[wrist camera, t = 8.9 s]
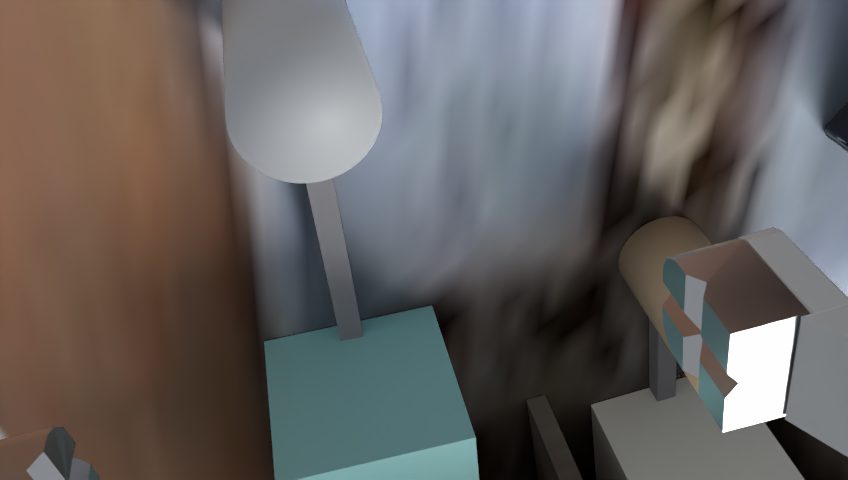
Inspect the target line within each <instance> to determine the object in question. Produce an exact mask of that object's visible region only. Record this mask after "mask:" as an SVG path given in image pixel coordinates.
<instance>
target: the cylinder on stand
mask: <svg viewBox="0 0 848 480" xmlns="http://www.w3.org/2000/svg"><path fill="white" fill-rule="evenodd" d="M711 245H712V244H711V242H710V241H709V240H708V239H707V238H706V236H705V235H704V234H703V233H702V231H701V230H700V229H699V228H698V227H697V225H696V224H695V223H694V222H692V221H691V220H689V219H687V218H684V217H679V216H669V217H663V218H659V219H656V220H654V221H651V222H649V223H647V224H645V225H644V226H642V227H641V228H639V229H638V230H637V231H636V232H634V233H633V234H632V235H631V236H630V237H629V239H628V240H627V241H626V243H625V244H624V246H623V248H622V250H621V252H620V255H619V260H618V266H619V270H620V273H621V275H622V276H623V278H624V280H625V281H626V283H627V284H628V286H629V287H630V289H631V290H632V292H633V294H634V295H635V297H636V298H637V300H638V301H639V303H640V304H641V306H642V308H643V309H644V311H645V312H646V314H647V315H648V317H649V388H646V389H643V390H639V391H636V392H633V393H629V394H626V395H622V396H619V397H616V398H612V399H609V400H605V401H602V402H598V403H595V404H592V405H591V414H592V429H593V443H594V458H595V472H596V480H805V479H804V478H803V476H802V475H801V474H800V472H799V471H798V469H797V468H796V466H795V465H794V464H793V462H792V461H791V459H790V458H789V456H788V455H787V454H786V452H785V451H784V449H783V448H782V447H781V445H780V444H779V442H778V441H777V439H776V438H775V437H774V435H773V434H772V432H771V431H770V429H769V428H768V427H767V425H766V424H765V422H761V423H757V424H753V425H749V426H745V427H741V428H737V429H734V430H730V431H726V432H722V430H721V429H720V427H719V426H718V424H717V423H716V421H715V420H714V418H713V417H712V415H711V414H710V412H709V411H708V409H707V407H706V406H705V404H704V403H703V401H702V400H701V398H700V397H699V395H698V387H699V378H698V377H695V376H693V375H691V374H689V373H687V372H685V371H683V372H684V373H685V375H686V376H687V377H684V378H680V379H677V380H676V369H677V360H676V359H675V357H674V355H673V353H672V351H671V349H670V346H669V344H668V342H667V338H666V334H665V330H664V326H663V311H662V305H663V304H664V302H665V301H666V300H667V298H668V297H669V295H670V294H671V293H670V291H669V290H668V288H667V287H666V285H665V284H664V282H663V265H664V263H665V260H666V258H669V257H672V256H676V255H679V254H683V253H686V252H690V251H693V250H697V249H700V248H704V247H707V246H711Z"/></svg>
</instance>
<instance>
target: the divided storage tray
mask: <svg viewBox="0 0 848 480" xmlns="http://www.w3.org/2000/svg"><path fill="white" fill-rule="evenodd" d="M526 401H527V407H528V414H529V421H530V427H531V434H532V441H533V448H534V454H535V461H536V468H537V475H538V480H583V479H582V477H581V475H580V473H579V470H578V468H577V466H576V463H575V461H574V459H573V457H572V454H571V452H570V450H569V448H568V445H567V443H566V441H565V439H564V436H563V434H562V432H561V429H560V427H559V425H558V423H557V420H556V418H555V416H554V414H553V411H552V409H551V407H550V405H549V402H548V400H547V398H546V395H542V396H539V397H535V398H532V399H528V400H526ZM764 422H765V424H766V425H767V427H768V428H769V429H770V431H771V432H772V434H773V435H774V437H775V438H776V439H777V441H778V442H779V444H780V445H781V447H782V448H783V449H784V451H785V452H786V454H787V455H788V456H789V458H790V459H791V461H792V462H793V464H794V465H795V466H796V468H797V469H798V471H799V472H800V474H801V475H802V476H803V478H804V479H805V480H848V457H847V456H845V455H843V454H842V453H840V452H838V451H837V450H835V449H833V448H832V447H830V446H828V445H827V444H825V443H823V442H822V441H820V440H818V439H817V438H815V437H813V436H812V435H810V434H808V433H807V432H805V431H803V430H802V429H800V428H798V427H797V426H795V425H793V424H792V423H790V422H788V421H787V420H785V416H784V417H780V418H776V419H772V420H768V421H764ZM274 480H275V475H274Z"/></svg>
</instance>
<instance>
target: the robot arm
mask: <svg viewBox="0 0 848 480" xmlns="http://www.w3.org/2000/svg"><path fill="white" fill-rule="evenodd" d="M663 282H664V284H665V285H666V287H667V288H668V290H669V291H670V293H671V294H670V295H669V297H668V298H667V300H666V301H665V302H664V304H663V305H662V311H663V326H664V330H665V334H666V338H667V342H668V344H669V346H670V349H671V351H672V353H673V355H674V357H675V359H676V360H677V362H678V364H679V365H680V367H681V369H682V370H683V371H685V372H687V373H689V374H691V375H693V376H695V377H698V378H699V387H698V395H699V397H700V398H701V400H702V401H703V403H704V404H705V406H706V407H707V409H708V411H709V412H710V414H711V415H712V417H713V418H714V420H715V421H716V423H717V424H718V426H719V427H720V429H721V430H722V432H726V431H730V430H734V429H737V428H741V427H745V426H749V425H753V424H757V423H761V422H764V421H768V420H772V419H776V418H780V417H784V416H785V420H787V421H788V422H790V423H792V424H793V425H795V426H797V427H798V428H800V429H802V430H803V431H805V432H807V433H808V434H810V435H812V436H813V437H815V438H817V439H818V440H820V441H822V442H823V443H825V444H827V445H828V446H830V447H832V448H833V449H835V450H837V451H838V452H840V453H842V454H843V455H845V456H847V457H848V297H847V296H846V295H845V294H844V293H843V292H842V291H841V290H840V289H839V288H838V287H837V286H836V285H835V284H834V283H833V282H832V281H831V280H830V279H829V278H828V277H827V276H826V275H825V274H824V273H823V272H822V271H821V270H820V269H819V268H818V267H817V266H816V265H815V264H814V263H813V262H812V261H811V260H810V259H809V258H808V257H807V256H806V255H805V254H804V253H803V252H802V251H801V250H800V249H799V248H798V247H797V246H796V245H795V244H794V243H793V242H792V241H791V240H790V239H789V238H788V237H787V236H786V235H785V234H784V233H783V232H782V231H781V230H779V229H776V228H774V227H773V228H769V229H766V230H762V231H759V232H755V233H752V234H748V235H745V236H742V237H738V238H737V239H732V240H729V241H725V242H721V243H718V244H714V245H711V246H707V247H704V248H700V249H697V250H693V251H690V252H686V253H683V254H679V255H676V256H672V257H669V258H666V260H665V263H664V265H663ZM75 444H76V443H75V441H74V440H73V439H72V438H71V436H70V435H69V434H68V432H67V431H66V430H65V429H64V427H50V428H46V429H42V430H38V431H34V432H30V433H26V434H22V435H18V436H14V437H10V438H6V439H2V440H0V480H100V478H99V475H98V474H97V473H96V471H95V470H94V468H93V467H92V465H91V464H89V463H87V462H84V461H82V460H79V459H76V458H74V457H73V455H74V449H75Z"/></svg>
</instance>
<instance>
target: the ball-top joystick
mask: <svg viewBox="0 0 848 480" xmlns="http://www.w3.org/2000/svg"><path fill="white" fill-rule="evenodd" d="M221 6H222V35H223V63H224V92H225V118H226V127H227V132H228V134H229V137H230V140H231V142H232V144H233V146H234V148H235V149H236V151H237V152H238V153H239V155H240V156H241V157H242V158H243V159H244V160H245V161H246V162H247V163H248V164H249V165H250V166H251V167H253V168H254V169H255V170H257V171H259V172H260V173H262V174H264V175H266V176H268V177H271V178H273V179H277V180H280V181H284V182H289V183H306V186H307V190H308V195H309V200H310V204H311V209H312V213H313V218H314V222H315V227H316V231H317V236H318V240H319V245H320V249H321V254H322V259H323V263H324V268H325V272H326V277H327V281H328V286H329V290H330V295H331V299H332V304H333V309H334V313H335V318H336V322H337V326H334V327H329V328H324V329H320V330H315V331H310V332H306V333H301V334H296V335H292V336H287V337H282V338H278V339H273V340H268V341H264V347H265V360H266V373H267V386H268V398H269V411H270V424H271V437H272V449H273V462H274V475H275V480H479V471H478V459H477V447H476V437H475V434H474V431H473V428H472V425H471V422H470V419H469V416H468V413H467V409H466V406H465V403H464V400H463V397H462V394H461V391H460V388H459V385H458V382H457V379H456V376H455V373H454V370H453V367H452V364H451V361H450V358H449V355H448V352H447V349H446V346H445V343H444V340H443V337H442V334H441V331H440V328H439V325H438V322H437V319H436V316H435V313H434V310H433V307H432V305H431V306H427V307H422V308H417V309H413V310H408V311H403V312H399V313H394V314H389V315H385V316H380V317H376V318H371V319H366V320H362V321H361V320H360V315H359V310H358V305H357V300H356V295H355V289H354V284H353V279H352V274H351V269H350V264H349V259H348V253H347V248H346V243H345V238H344V233H343V228H342V222H341V217H340V212H339V207H338V202H337V197H336V192H335V186H334V181H333V178H334V177H336V176H339V175H341V174H343V173H345V172H346V171H348V170H349V169H351V168H352V167H354V166H355V165H356V164H357V163H359V162H360V161H361V160H362V159H363V158H364V157H365V156H366V155H367V153H368V152H369V151H370V149H371V148H372V146H373V145H374V143H375V141H376V139H377V137H378V134H379V131H380V128H381V124H382V115H383V108H382V100H381V95H380V92H379V90H378V87H377V84H376V81H375V79H374V76H373V73H372V71H371V68H370V65H369V63H368V60H367V57H366V55H365V52H364V49H363V46H362V44H361V41H360V38H359V36H358V33H357V30H356V28H355V25H354V22H353V19H352V17H351V14H350V11H349V9H348V6H347V3H346V1H345V0H222V4H221Z"/></svg>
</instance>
